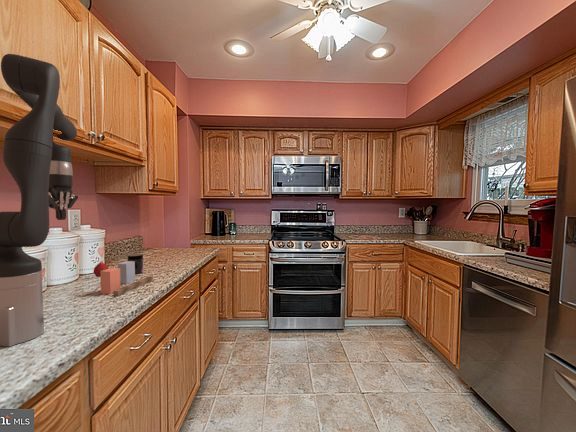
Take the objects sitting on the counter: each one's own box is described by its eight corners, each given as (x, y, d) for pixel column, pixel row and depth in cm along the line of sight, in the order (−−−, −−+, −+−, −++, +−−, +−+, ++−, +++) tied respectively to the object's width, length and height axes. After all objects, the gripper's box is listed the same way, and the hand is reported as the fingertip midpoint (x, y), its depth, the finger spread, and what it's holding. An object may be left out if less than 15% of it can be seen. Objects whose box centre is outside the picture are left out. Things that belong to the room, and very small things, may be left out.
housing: (118, 299, 97) (118, 291, 97) (85, 297, 99) (85, 289, 99) (152, 283, 117) (152, 276, 117) (125, 282, 119) (125, 275, 118)
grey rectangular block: (126, 284, 111) (126, 264, 111) (118, 283, 112) (117, 263, 111) (135, 280, 116) (134, 261, 116) (126, 280, 117) (126, 261, 116)
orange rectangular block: (110, 294, 99) (110, 271, 99) (100, 293, 100) (100, 271, 99) (120, 289, 104) (120, 268, 104) (111, 289, 105) (110, 268, 104)
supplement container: (142, 277, 127) (142, 255, 126) (126, 278, 124) (125, 256, 124) (144, 273, 133) (144, 253, 133) (128, 274, 131) (128, 253, 130)
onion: (101, 280, 121) (100, 263, 121) (90, 279, 122) (90, 262, 122) (111, 276, 127) (111, 260, 126) (101, 276, 128) (101, 259, 128)
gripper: (50, 172, 93) (52, 221, 94) (84, 175, 106) (85, 218, 107) (32, 172, 94) (34, 220, 95) (67, 175, 107) (69, 218, 108)
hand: (61, 219), depth 101 cm, fingers closed
